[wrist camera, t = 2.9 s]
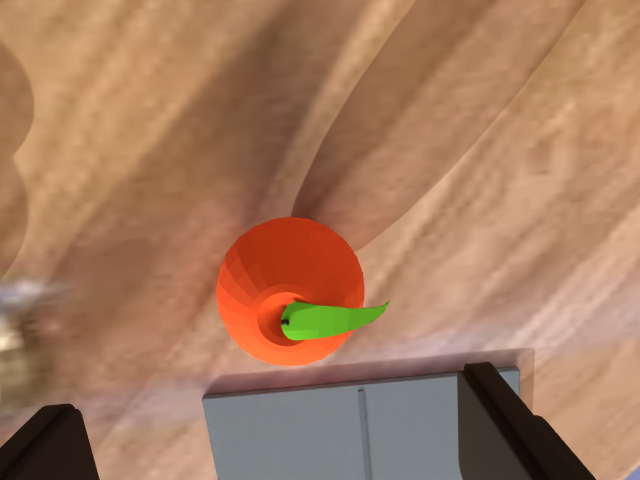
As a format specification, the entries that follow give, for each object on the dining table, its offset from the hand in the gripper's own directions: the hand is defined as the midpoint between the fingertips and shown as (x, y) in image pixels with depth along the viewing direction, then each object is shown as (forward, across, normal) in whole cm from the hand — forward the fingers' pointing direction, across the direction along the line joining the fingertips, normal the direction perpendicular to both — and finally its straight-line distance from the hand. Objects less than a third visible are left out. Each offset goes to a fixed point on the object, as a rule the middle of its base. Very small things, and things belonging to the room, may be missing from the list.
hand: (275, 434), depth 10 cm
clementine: (+13, -1, 0) cm, 13 cm away
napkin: (+13, -3, +12) cm, 18 cm away
